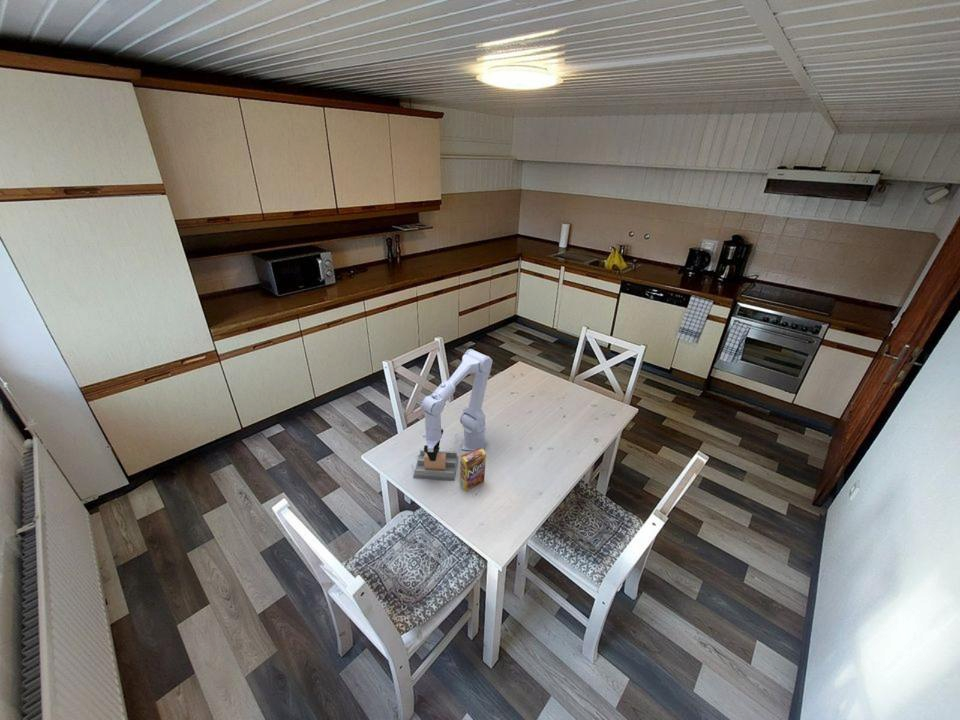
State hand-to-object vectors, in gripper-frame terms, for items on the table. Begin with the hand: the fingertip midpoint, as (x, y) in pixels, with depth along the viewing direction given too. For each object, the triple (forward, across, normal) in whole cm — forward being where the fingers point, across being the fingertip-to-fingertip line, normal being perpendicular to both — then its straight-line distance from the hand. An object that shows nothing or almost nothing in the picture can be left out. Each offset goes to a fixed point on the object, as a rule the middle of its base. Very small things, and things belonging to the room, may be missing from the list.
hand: (434, 453), depth 148 cm
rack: (+9, -2, 0) cm, 9 cm away
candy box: (+10, +5, +15) cm, 19 cm away
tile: (+8, +1, 0) cm, 8 cm away
